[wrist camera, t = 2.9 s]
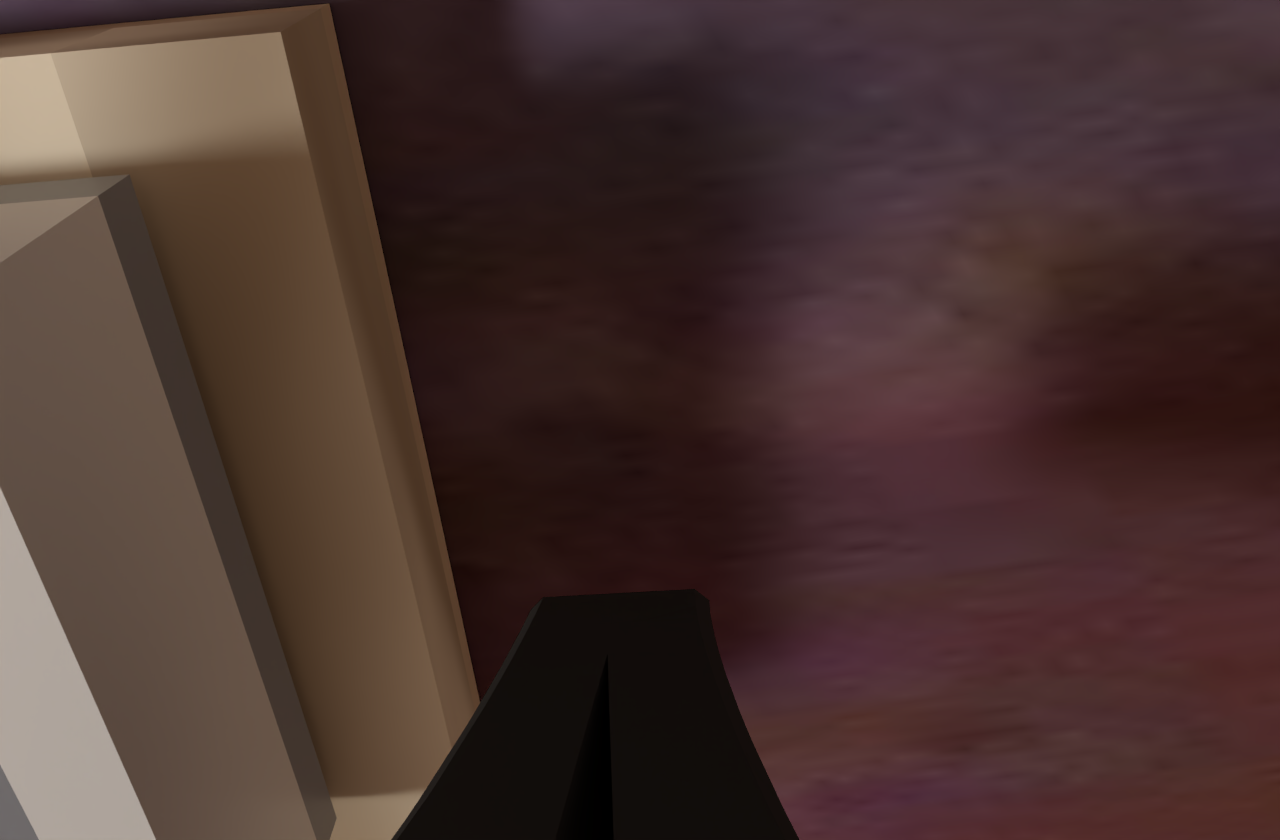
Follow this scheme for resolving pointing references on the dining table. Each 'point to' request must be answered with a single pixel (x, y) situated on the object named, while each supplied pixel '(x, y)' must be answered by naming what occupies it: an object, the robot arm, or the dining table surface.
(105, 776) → the cover
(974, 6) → the dining table surface
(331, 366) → the board
